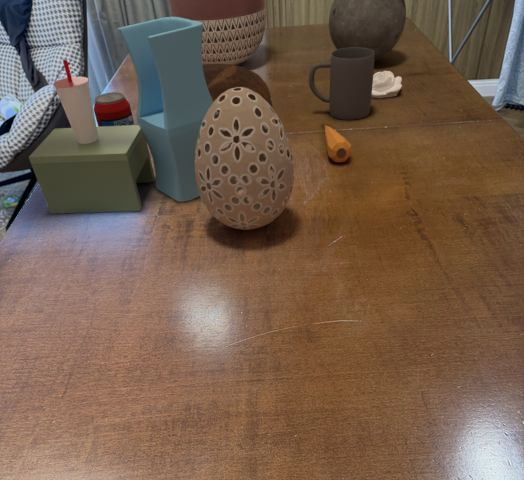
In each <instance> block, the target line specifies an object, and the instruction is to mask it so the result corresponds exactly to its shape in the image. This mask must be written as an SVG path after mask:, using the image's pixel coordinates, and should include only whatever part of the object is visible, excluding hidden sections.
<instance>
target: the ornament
mask: <svg viewBox="0 0 524 480" xmlns="http://www.w3.org/2000/svg"><path fill="white" fill-rule="evenodd" d="M236 88H241V90H235V89H236ZM222 97H225V99H224V100H223V101H221V102H219V100H220V99H221V98H222ZM217 110H220V112H219V113H218V114H215V112H216V111H217ZM255 113H256V114H257V115H256V114H255ZM273 120H274V122H273ZM202 125H203V127H202ZM202 125H201V127H200V131H199V134H198V139H197V144H196V150H195V176H196V182H197V187H198V191H199V193H200V196H199V197H200V198H201V201H202V203H203V205H204V206H205V208H206V210H207V211H208V212H209V213H210V214H211V216H213V218H214V219H216V220H217V221H219V222H220V223H222V224H223V225H225V226H227V227H230V228H231V229H236V230H243V231H244V230H245V231H247V230H254V229H259V228H262V227H265V226H267V225H268V224H271V223H272V222H274V220H276V219H277V218H278V217H279V216H280V215H281V214H282V213H283V211H284V209H285V208H286V206H287V204H288V203H289V200H290V198H291V195H292V191H293V188H294V181H295V180H294V179H295V167H294V166H295V165H294V164H295V163H294V157H293V151H292V147H291V144H290V139H289V137H288V134H287V132H286V129H285V128H284V125H283V123H282V120H281V119H280V118H279V116H278V115H277V113H276V111H275V110H274V108H273V107H272V106H271V104H269V103H268V102H267V101H266V100H265V99H264V98H263V97H261V96H260V95H259V94H257V93H256V92H254V91H252V90H250V89H248V88H244V87H235V88H231V89H228V90H227V91H225V92H224V93H222V94H221V95H220V96H219V97H218V98H217V99H216V100H215V101H214V102H213V104H212V105H211V107H210V108H209V110H208V111H207V113H206V115H205V117H204V119H203V122H202ZM265 126H266V127H265ZM281 130H282V131H281ZM268 143H270V145H271V146H269V145H268ZM226 144H228V146H226V147H225V148H224V146H225V145H226ZM247 145H250V146H251V149H250V148H247V147H246V146H247ZM281 147H282V148H283V150H282V149H280V148H281ZM199 148H200V149H199ZM209 148H210V150H209V152H208V151H207V149H209ZM214 156H215V159H214V161H213V160H212V158H213V157H214ZM271 171H272V172H273V173H272V174H273V175H271ZM199 173H200V174H199ZM202 176H203V177H204V180H205V182H204V181H203V180H202ZM260 179H261V180H260ZM259 180H260V181H259ZM212 183H213V185H212ZM219 183H220V184H219ZM209 184H210V185H211V186H210V185H209ZM242 190H244V192H243V193H242V194H239V192H240V191H242ZM249 198H250V200H249Z"/></svg>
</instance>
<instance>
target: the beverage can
mask: <svg viewBox="0 0 524 480" xmlns="http://www.w3.org/2000/svg"><path fill="white" fill-rule="evenodd" d="M93 111H94V117H95V121H96V125H97V127H103V126H126V125H135V120H134V117H133V111H132V108H131V103H130V102H129V101H128V100H127V98H126V97H125V94H124V93H122V92H116V91H115V92H113V91H111V92H106V93H102V94H98V95H97V96H96V97H95V98H94V105H93Z"/></svg>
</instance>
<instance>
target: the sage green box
mask: <svg viewBox="0 0 524 480" xmlns="http://www.w3.org/2000/svg"><path fill="white" fill-rule="evenodd" d="M96 128H97V134H98V140H97V141H95V142H93V143H89V144H80V143H78V141H77V139H76V137H75V134H74V132H73V130H72V127H59V128H54V129H52V131H51V132H50V133H49V134H48V135H47V136H46V138H44V140H43V141H42V142H41V143H40V144H39V145H38V146H37V147H36V149H34V151H33V152H32V153H30V155H29V156H28V160H29V162H30V165H31V168H32V171H33V172H34V175H35V178H36V180H37V182H38V185H39V188H40V190H41V193H42V196H43V198H44V201H45V203H46V206H47V209H48V211H49V214H51V215H53V214H55V215H56V214H84V213H85V214H86V213H90V214H91V213H92V214H93V213H120V212H121V213H123V212H141V211H142V208H143V205H142V201H141V197H140V193H139V189H138V187H137V186H138V185H137V183H138V184H141V183H142V184H143V183H154V182H155V181H156V176H155V172H154V167H153V164H152V159H151V153H150V149H149V146H148V144H147V141H146V139H145V137H144V135H143V133H142V131H141V128H140V126H139V124H134V125H126V126H103V127H98V126H96Z"/></svg>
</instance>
